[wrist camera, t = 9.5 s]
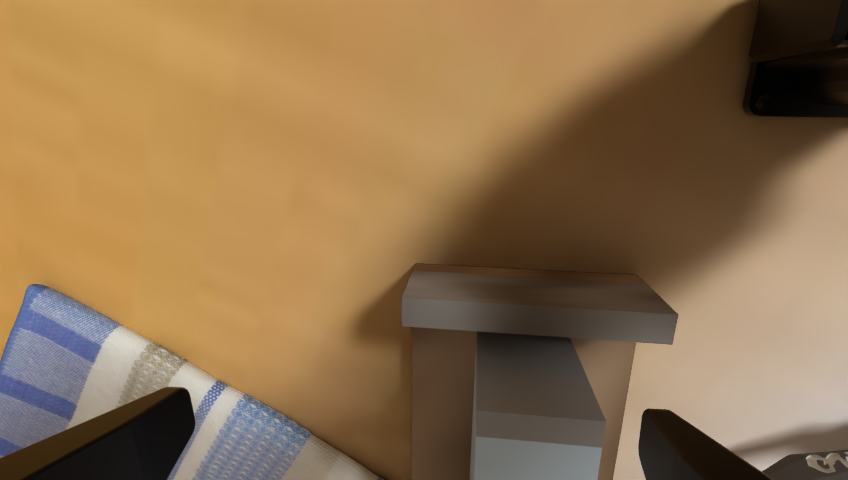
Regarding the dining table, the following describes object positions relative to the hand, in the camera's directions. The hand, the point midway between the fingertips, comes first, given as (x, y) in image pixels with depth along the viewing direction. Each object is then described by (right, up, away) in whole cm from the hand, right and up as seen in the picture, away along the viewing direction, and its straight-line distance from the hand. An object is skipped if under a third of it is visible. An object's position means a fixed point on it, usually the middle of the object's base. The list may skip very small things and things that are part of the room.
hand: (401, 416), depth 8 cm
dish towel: (-14, -11, +18) cm, 26 cm away
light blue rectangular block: (+5, -6, +12) cm, 15 cm away
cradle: (+5, -5, +13) cm, 15 cm away
